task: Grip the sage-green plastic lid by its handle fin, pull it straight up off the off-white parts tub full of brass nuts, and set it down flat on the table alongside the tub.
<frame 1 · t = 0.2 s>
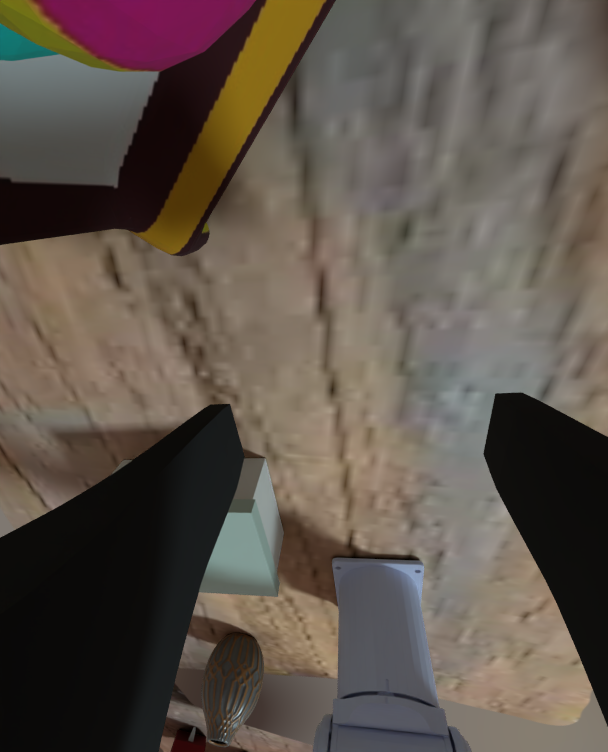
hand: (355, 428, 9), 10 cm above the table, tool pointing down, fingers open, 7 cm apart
lid: (190, 535, 24), point 3 cm above the table, touching tub
tub: (207, 498, 27), on the table
vase: (242, 638, 40), on the table
alarm clock: (186, 730, 65), on the table
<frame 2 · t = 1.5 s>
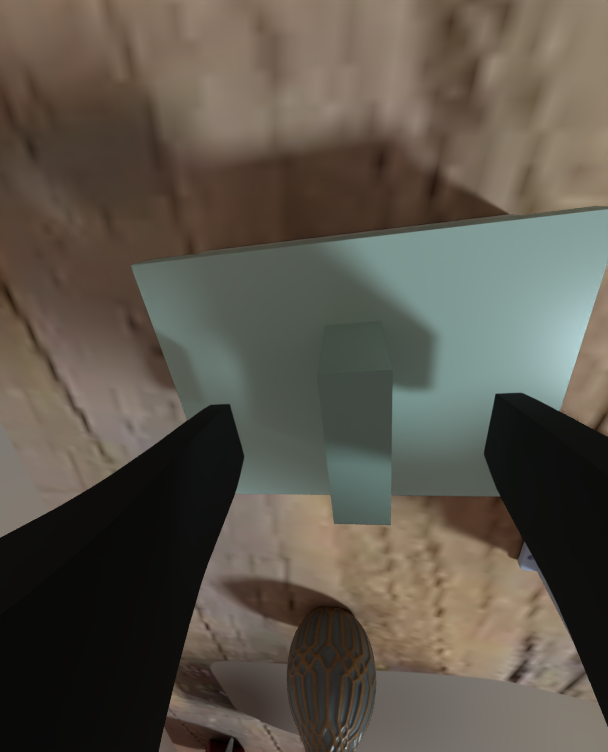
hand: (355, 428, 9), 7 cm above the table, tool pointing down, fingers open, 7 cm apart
lid: (354, 372, 12), point 3 cm above the table, touching tub
tub: (352, 337, 15), on the table
vase: (332, 615, 28), on the table
alarm clock: (220, 740, 52), on the table
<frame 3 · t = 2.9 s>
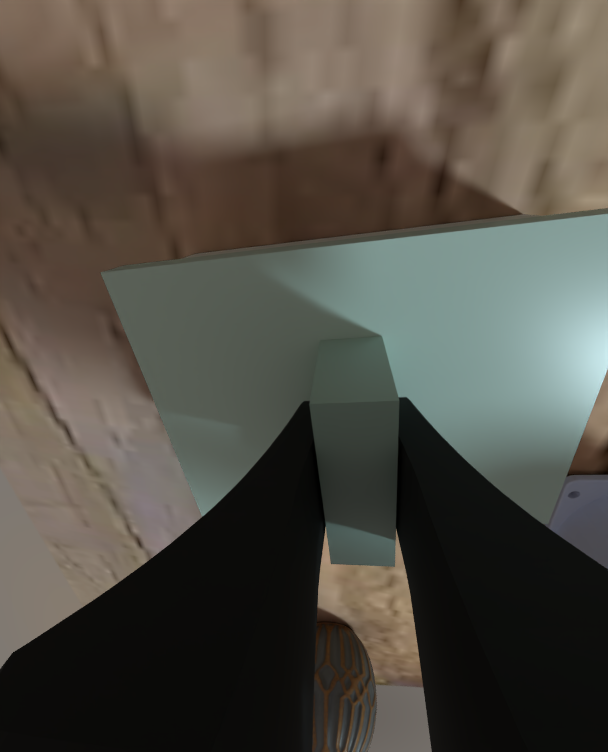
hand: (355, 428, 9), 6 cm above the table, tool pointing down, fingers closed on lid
lid: (353, 387, 11), point 3 cm above the table, touching gripper, tub
tub: (351, 347, 14), on the table
vase: (331, 630, 27), on the table
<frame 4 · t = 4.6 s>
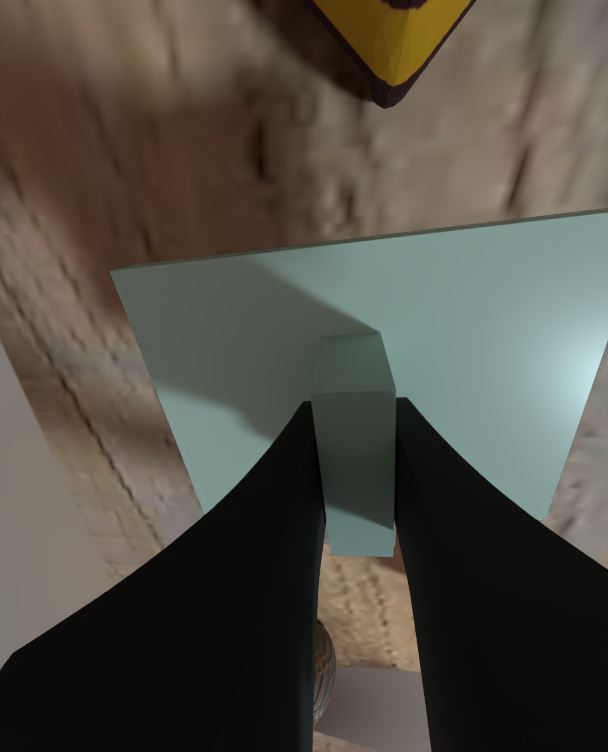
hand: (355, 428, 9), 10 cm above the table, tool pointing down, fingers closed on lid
lid: (353, 385, 11), point 8 cm above the table, touching gripper
vase: (307, 624, 37), on the table
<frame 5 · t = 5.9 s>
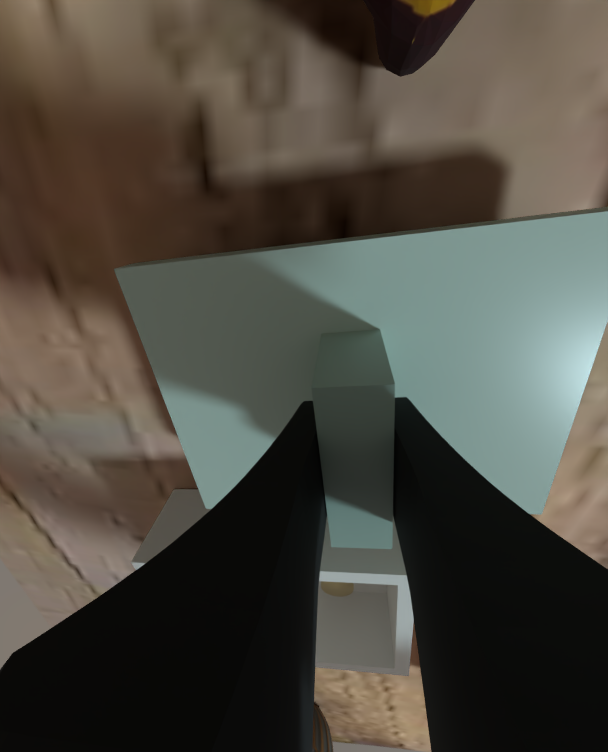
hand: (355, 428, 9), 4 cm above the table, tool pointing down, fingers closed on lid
lid: (353, 381, 11), point 1 cm above the table, touching gripper
tub: (293, 543, 18), on the table
vase: (300, 703, 32), on the table
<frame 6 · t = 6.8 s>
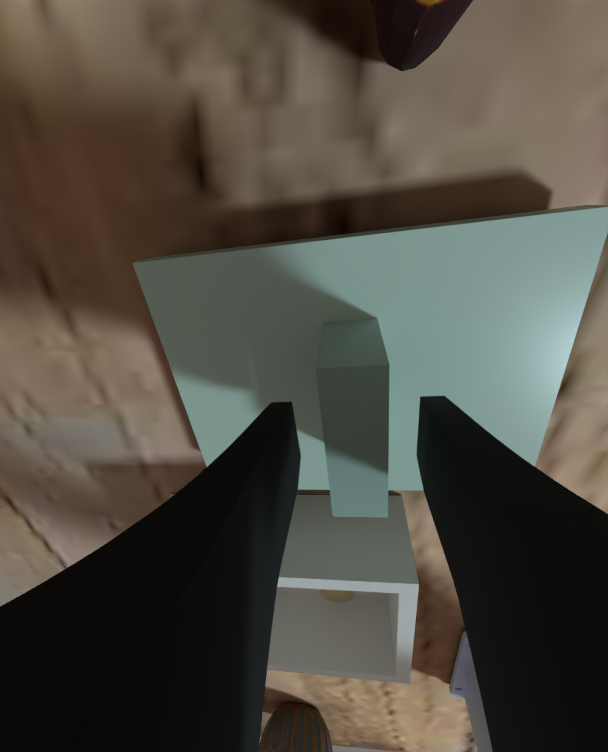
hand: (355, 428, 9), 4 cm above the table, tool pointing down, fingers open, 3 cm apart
lid: (352, 368, 12), on the table
tub: (292, 548, 18), on the table
vase: (299, 707, 31), on the table
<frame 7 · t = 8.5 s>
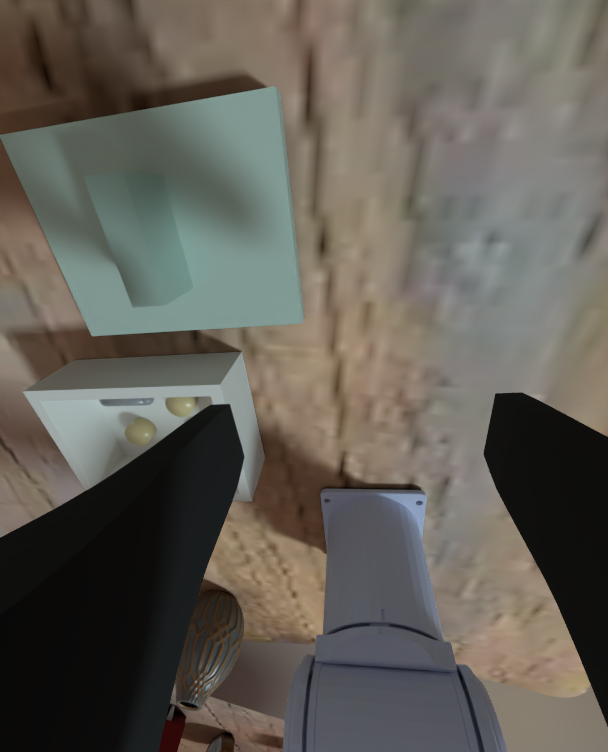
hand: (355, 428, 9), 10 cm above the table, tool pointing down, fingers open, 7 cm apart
lid: (179, 234, 17), on the table
tub: (175, 411, 23), on the table
vase: (221, 597, 36), on the table
alarm clock: (165, 709, 61), on the table
tin: (221, 736, 66), on the table
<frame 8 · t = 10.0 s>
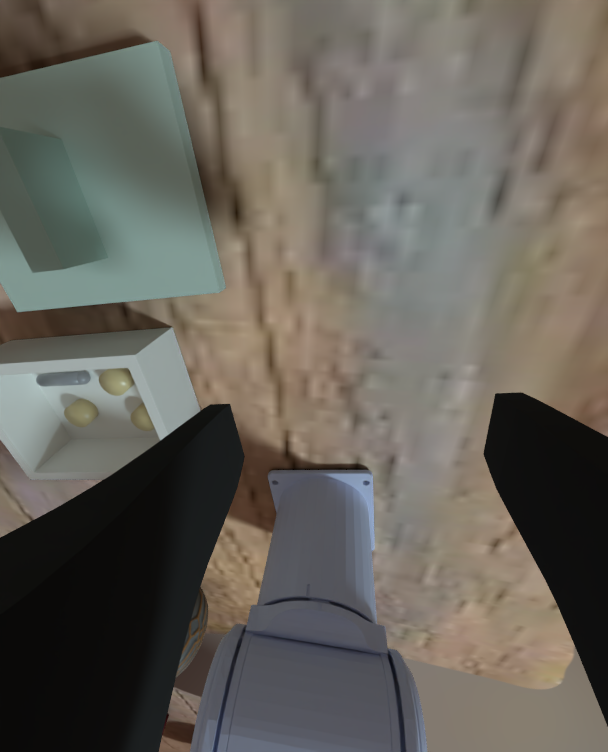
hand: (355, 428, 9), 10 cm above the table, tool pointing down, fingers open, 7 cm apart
lid: (95, 204, 17), on the table
tub: (115, 392, 23), on the table
vase: (187, 588, 36), on the table
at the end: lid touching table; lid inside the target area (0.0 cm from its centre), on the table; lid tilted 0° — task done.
